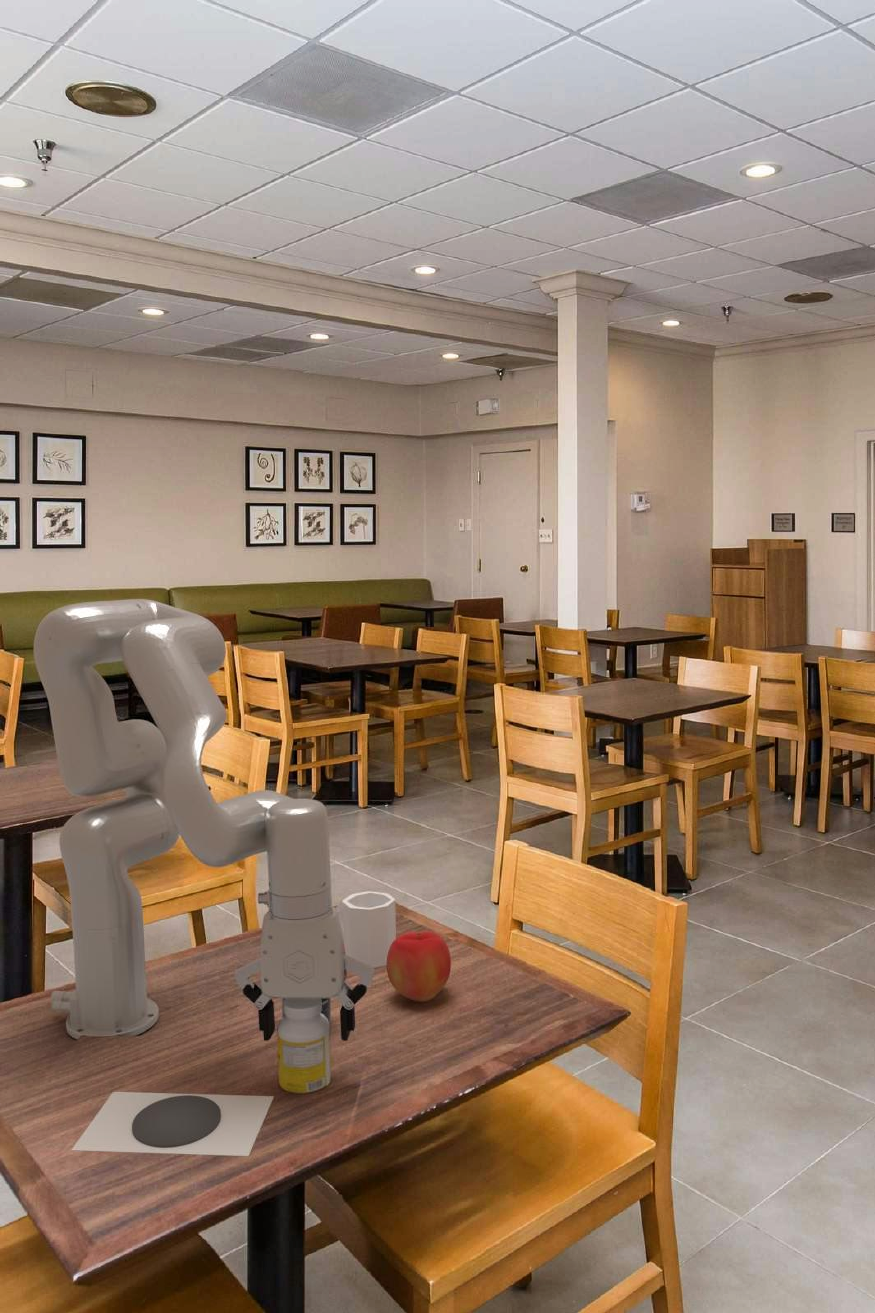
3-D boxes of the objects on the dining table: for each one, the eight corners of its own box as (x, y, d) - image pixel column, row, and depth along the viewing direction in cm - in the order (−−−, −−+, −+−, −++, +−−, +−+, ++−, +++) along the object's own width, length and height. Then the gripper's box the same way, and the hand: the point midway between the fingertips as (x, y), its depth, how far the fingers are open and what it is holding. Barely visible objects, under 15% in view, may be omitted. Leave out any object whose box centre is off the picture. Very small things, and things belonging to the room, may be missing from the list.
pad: (118, 1146, 114) (118, 1142, 114) (150, 1097, 124) (149, 1094, 124) (206, 1148, 113) (206, 1145, 113) (231, 1099, 123) (231, 1096, 123)
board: (71, 1160, 114) (71, 1150, 113) (113, 1100, 125) (113, 1091, 125) (248, 1166, 112) (248, 1155, 112) (274, 1105, 124) (273, 1096, 124)
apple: (461, 1005, 150) (461, 939, 149) (400, 1017, 146) (399, 950, 145) (437, 979, 159) (436, 917, 158) (379, 990, 155) (377, 926, 154)
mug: (406, 956, 167) (405, 898, 166) (368, 973, 161) (367, 913, 160) (355, 938, 175) (353, 883, 174) (317, 954, 169) (315, 896, 168)
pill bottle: (306, 1069, 132) (303, 984, 131) (342, 1086, 128) (339, 997, 127) (268, 1091, 127) (265, 1002, 126) (304, 1109, 123) (301, 1017, 122)
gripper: (222, 913, 122) (231, 1050, 123) (366, 911, 120) (373, 1050, 122) (239, 892, 129) (247, 1021, 131) (375, 890, 128) (381, 1021, 130)
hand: (307, 1035), depth 127 cm, fingers open, 9 cm apart
